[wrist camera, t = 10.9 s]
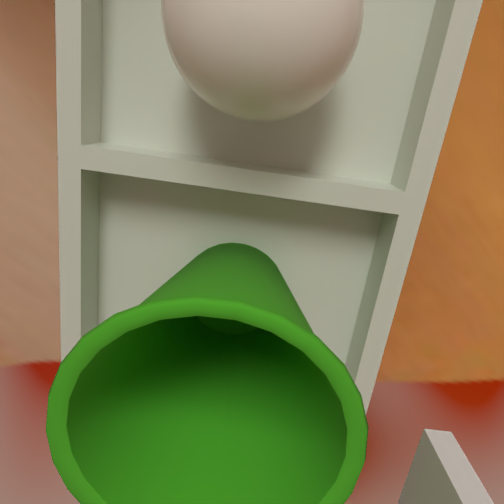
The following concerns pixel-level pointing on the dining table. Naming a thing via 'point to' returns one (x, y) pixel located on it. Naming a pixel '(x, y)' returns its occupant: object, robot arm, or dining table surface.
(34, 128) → the dining table surface
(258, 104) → the white ball
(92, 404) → the cup
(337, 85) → the tray
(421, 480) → the robot arm
